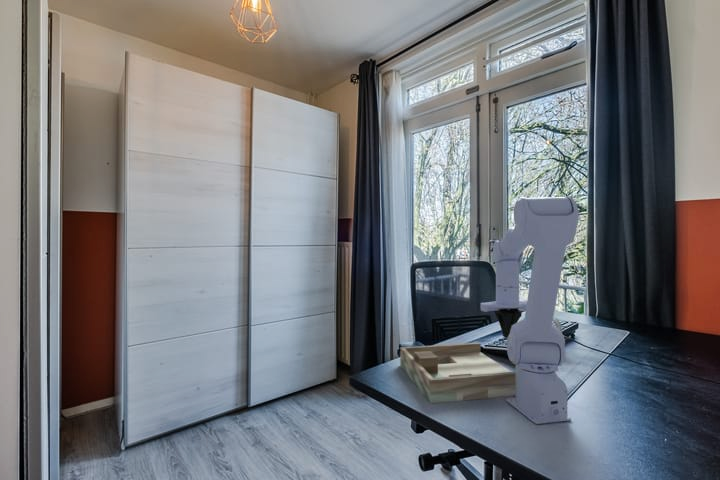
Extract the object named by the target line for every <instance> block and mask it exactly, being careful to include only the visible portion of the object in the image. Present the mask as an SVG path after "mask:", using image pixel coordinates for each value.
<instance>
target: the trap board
mask: <svg viewBox="0 0 720 480" xmlns="http://www.w3.org/2000/svg"><path fill="white" fill-rule="evenodd" d="M481 347H482V346H481V343H480V342H469V343H466V342H465V343H455V344H454V343H452V344H451V343H450V344H436V345H434V344H433V345H421V346H419V345H418V346H405V347H400V348H399V351H400V353H399V354H400V355H399V360H400V362H399V364H400V367H401V368H402V370H403V371H404V372H405V373H406V374H407V375H408V377H409V378H410V380H411V381H412V382H413V383H414V384H415V385H416V387H417V388H418V390H420V392H421V393H422V395H423V396H424V398H426V399H427V401H428V402H429V403H430V404H439V403H452V402H462V401H471V400H481V399H493V398H503V397H514V396H515V397H516V371H511V370H509V369H508V368H506V367H505V366H503V365H501V364H500V363H498V362H497V361H495V360H494V359H492V358H491V357H489V356H487V355H486V354H484V353H483V352H481V350H482V349H481ZM426 351H431V352H432V353H433V354H435V355H436V356H437V357H438V374H429V373H428V372H427V371H426V370H425V369H424V368H423V367H422V366H421V365H420V364H419V363H418V362H417V361H416V360H415V358H414V352H426Z"/></svg>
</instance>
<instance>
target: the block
mask: <svg viewBox="0 0 720 480" xmlns="http://www.w3.org/2000/svg"><path fill="white" fill-rule="evenodd" d="M414 358H415V360H416V361H417V362H418V363H419V364H420V365H421V366H422V367H423V368H424V369H425V370H426V371H427V372H428V373H429V374H438V357H437V356H436V355H435V354H433V353H432V352H431V351H426V352H414Z"/></svg>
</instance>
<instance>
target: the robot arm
mask: <svg viewBox="0 0 720 480" xmlns="http://www.w3.org/2000/svg"><path fill="white" fill-rule="evenodd" d="M579 217H580V211H579V208H578V204H577V202H576V200H575V199H574V198H573V197H572V196H567V195H566V196H564V197H563V196H561V197H560V196H559V197H525V196H524V197H523V196H522V197H519V198H518V200H517V201H516V202H515V203H514V209H513V220H514V224H515V225H514V226H511V227H510V228H508V229H507V231H506V232H505V233H504V234H503V237H502V239H501V240H495V241H494V242H493V246H492V258H493V261H494V263H495V301H488V302H480V311H481V312H484V313H485V312H492V311H493V313H494V314H495V317H496V318H497V321H498V323H499V326H500V329H501V333H502V337H504V338H506V351H507V352H506V353H507V356H508V359H509V361H510V362H511V364H514V365H515V372H516V396H515V397H510V398H509V397H508V398H506V402H507V403H509V404H510V405H511V406H512V407H514V409H516V410H518V412H520V413H522V414H523V415H524V416H525V417H526V418H527V419H529V420H530V421H531V422H532V423H534V424H537V425H539V424H541V425H542V424H548V423H549V424H550V423H557V422H567V421H571V420H572V417H571V416H570V415H568V387H567V385H566V383H565V381H564V380H562V379H561V378H560V376H558V375H557V373H556V372H559V367H562V365H563V363H564V362H565V360H566V348H565V347H566V346H565V345H566V339H565V337H564V334H563V331H562V332H561V331H560V330H559V329H558V328H557V326H556V325H555V324H554V322H553V316H554V317H555V309H556V305H557V298H558V293H559V287H560V282H561V276H562V272H563V265H564V259H565V254H566V248H567V246H569V245H571V244H572V243H574V241H575V237H576V233H577V229H578V224H579V223H578V222H579ZM528 246H531V247H532V248H533V251H534V252H533V253H534V254H533V257H532V264H531V266H532V267H531V273H530V279H529V284H528V285H529V286H528V293H527V299H526V300H520V270H521V269H522V263H523V262H522V261H523V258H524V251H525V250H526V249H527V247H528ZM519 310H525V314H524V318H522V319H521V320H520V318H521V317H522V313H523V312H522V311H519Z"/></svg>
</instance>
